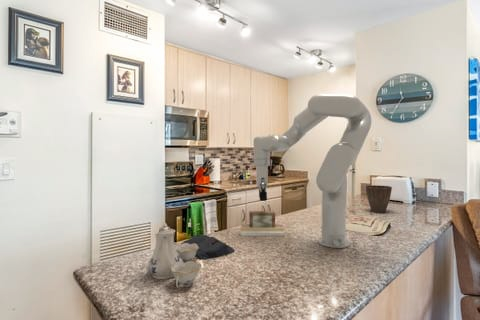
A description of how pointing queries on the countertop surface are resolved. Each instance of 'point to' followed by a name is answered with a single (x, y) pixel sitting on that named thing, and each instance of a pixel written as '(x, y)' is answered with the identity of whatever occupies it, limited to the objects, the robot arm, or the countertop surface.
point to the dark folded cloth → (209, 247)
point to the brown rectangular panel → (262, 219)
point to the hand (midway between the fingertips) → (262, 198)
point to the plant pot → (378, 197)
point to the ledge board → (262, 231)
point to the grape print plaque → (365, 224)
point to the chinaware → (173, 259)
